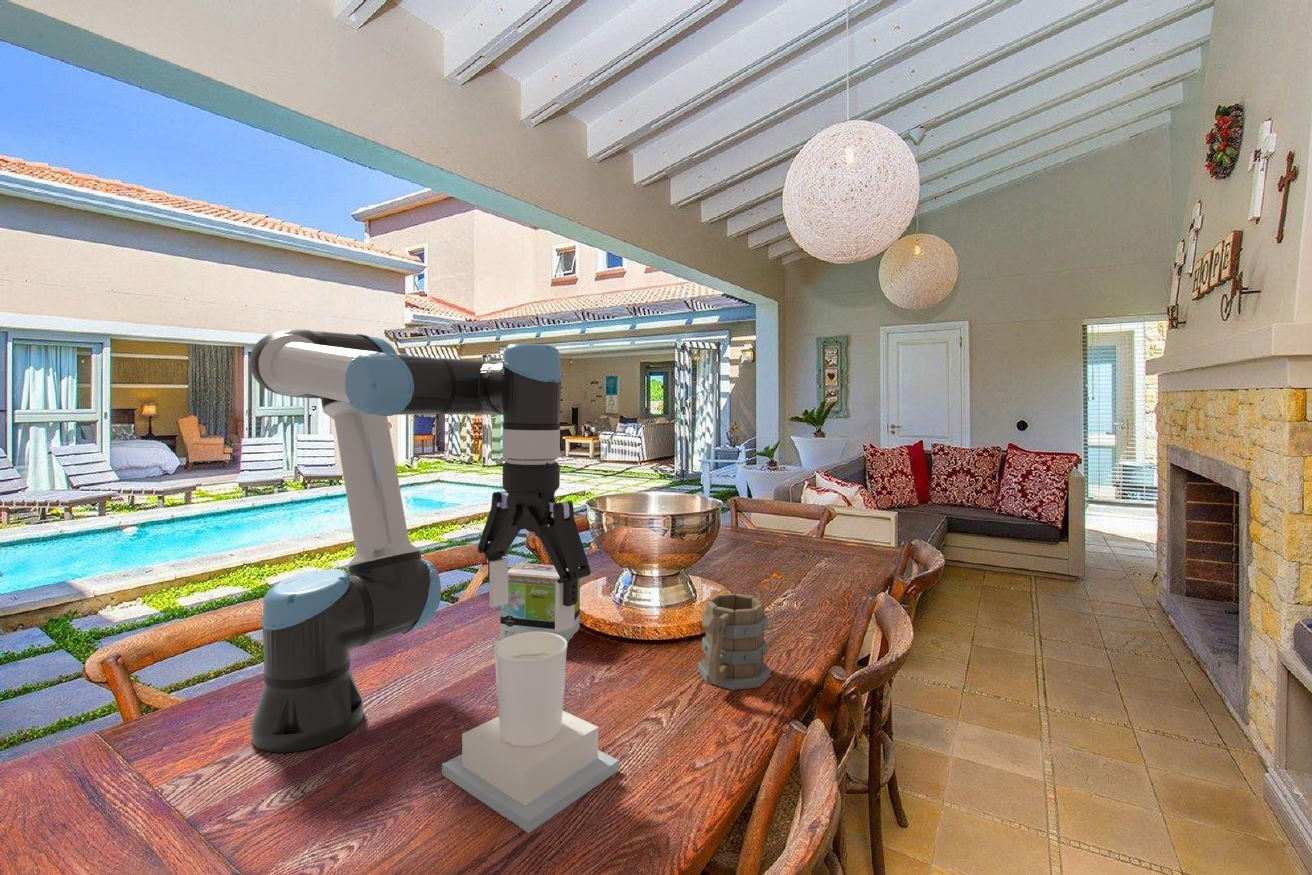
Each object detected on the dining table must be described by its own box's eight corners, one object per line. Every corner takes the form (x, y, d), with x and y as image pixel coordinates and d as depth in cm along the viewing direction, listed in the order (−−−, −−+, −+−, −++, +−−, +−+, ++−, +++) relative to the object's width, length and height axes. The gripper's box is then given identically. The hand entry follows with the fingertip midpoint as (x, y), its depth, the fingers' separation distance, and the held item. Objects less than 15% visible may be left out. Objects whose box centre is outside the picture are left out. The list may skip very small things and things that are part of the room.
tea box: (498, 641, 130) (498, 573, 129) (517, 624, 140) (517, 561, 139) (566, 647, 127) (566, 577, 126) (580, 630, 137) (581, 565, 136)
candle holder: (535, 705, 90) (536, 626, 90) (581, 728, 84) (582, 643, 84) (479, 732, 83) (479, 646, 82) (525, 759, 77) (525, 666, 76)
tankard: (717, 655, 124) (719, 582, 123) (777, 669, 118) (778, 593, 117) (669, 694, 107) (670, 610, 106) (735, 714, 101) (737, 625, 100)
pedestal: (442, 774, 83) (441, 731, 83) (533, 726, 96) (533, 689, 95) (528, 833, 72) (528, 784, 72) (618, 770, 85) (619, 728, 84)
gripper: (619, 466, 77) (616, 631, 78) (496, 452, 92) (495, 590, 94) (576, 471, 71) (574, 649, 72) (452, 455, 86) (452, 602, 88)
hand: (530, 616), depth 83 cm, fingers open, 13 cm apart
